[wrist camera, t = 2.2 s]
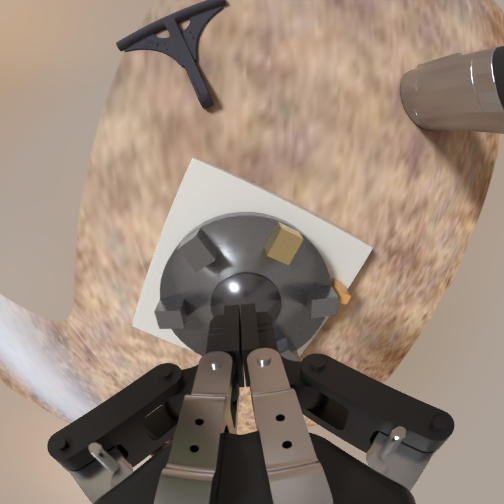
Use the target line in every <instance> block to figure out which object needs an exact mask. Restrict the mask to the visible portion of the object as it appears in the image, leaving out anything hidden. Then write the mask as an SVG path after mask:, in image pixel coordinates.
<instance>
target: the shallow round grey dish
mask: <svg viewBox="0 0 504 504" xmlns="http://www.w3.org/2000/svg"><path fill="white" fill-rule="evenodd" d="M246 303H255V308H256V312H267V313H268V314H269V315H270V316H271V317H272V322H273V327H274V333H275V338H276V343H277V349H278V352H279V354H280V355H281V356H282V357H284V358H286V359H288V360H292V361H300V359H299V356H298V352H297V350H298V349H299V348H301V347H302V346H303V345H304V344H306V343H307V342H308V341H309V340H310V339H311V338H312V337H313V336H314V334H315V333H316V332H317V331H318V329H319V328H320V326H321V324H322V323H323V321H324V319H325V317H326V316H334V315H337V307H338V295H337V294H336V292H335V291H334V289H333V287H332V286H331V281H330V275H329V272H328V269H327V266H326V264H325V262H324V260H323V258H322V256H321V255H320V253H319V252H318V250H317V249H316V248H315V246H314V245H313V244H312V242H311V241H310V240H309V239H308V238H307V237H306V236H305V234H304V233H303V232H301V231H300V230H299V229H297V228H296V227H295V226H293V225H292V224H290V223H288V222H286V221H285V220H282V219H280V218H277V217H275V216H271V215H267V214H263V213H256V212H235V213H228V214H224V215H221V216H217V217H214V218H212V219H210V220H207V221H205V222H203V223H202V224H200V225H198V226H197V227H195V228H194V229H193V230H191V231H190V232H189V233H188V234H187V235H186V236H185V237H184V238H183V239H182V240H181V241H180V242H179V243H178V245H177V246H176V248H175V249H174V251H173V253H172V254H171V256H170V258H169V259H168V261H167V263H166V266H165V268H164V270H163V274H162V277H161V283H160V300H159V302H158V304H157V307H156V309H155V311H154V313H155V316H156V320H157V323H158V326H159V329H172V331H173V332H174V334H175V335H176V336H177V337H178V338H179V339H180V340H181V341H182V342H183V343H184V344H185V345H186V346H187V347H189V348H190V349H192V350H193V351H194V352H196V353H198V354H200V355H202V356H204V355H205V354H206V347H207V340H208V332H209V325H210V321H211V320H212V319H213V317H214V316H215V315H224V306H225V305H233V304H239V308H240V317H241V304H246Z"/></svg>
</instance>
